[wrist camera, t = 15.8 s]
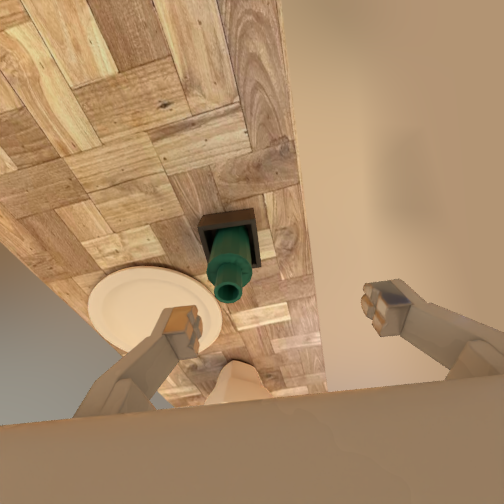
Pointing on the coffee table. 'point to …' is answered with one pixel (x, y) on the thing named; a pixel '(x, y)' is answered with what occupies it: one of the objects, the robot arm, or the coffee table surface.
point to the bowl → (237, 385)
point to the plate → (148, 304)
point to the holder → (230, 219)
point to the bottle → (230, 263)
